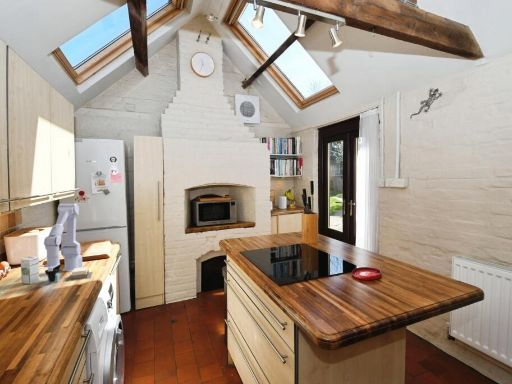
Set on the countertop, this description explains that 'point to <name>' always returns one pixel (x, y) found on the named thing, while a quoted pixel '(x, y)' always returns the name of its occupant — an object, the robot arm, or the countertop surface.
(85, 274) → the walnut slab
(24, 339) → the countertop surface
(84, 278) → the slate mat
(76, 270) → the cream slab
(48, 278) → the teal cube
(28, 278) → the syrup box
